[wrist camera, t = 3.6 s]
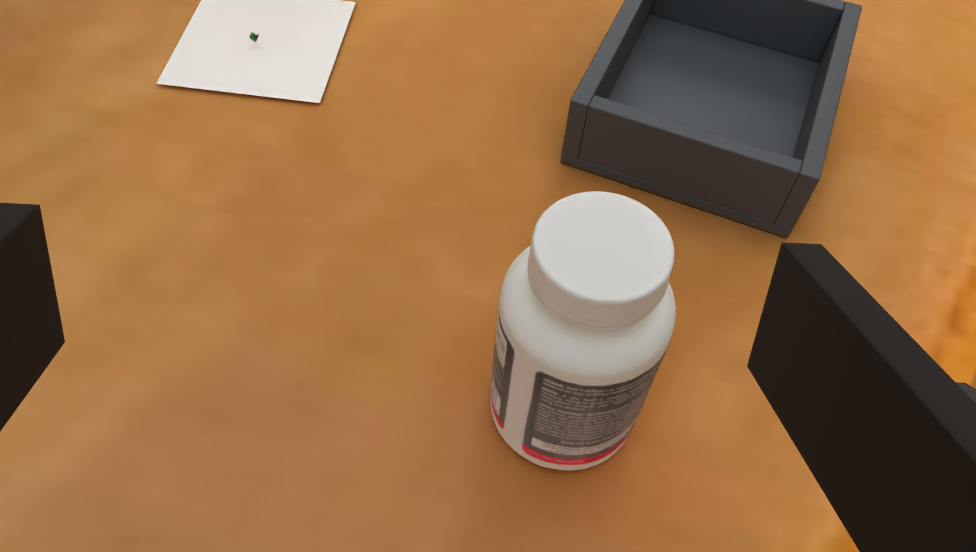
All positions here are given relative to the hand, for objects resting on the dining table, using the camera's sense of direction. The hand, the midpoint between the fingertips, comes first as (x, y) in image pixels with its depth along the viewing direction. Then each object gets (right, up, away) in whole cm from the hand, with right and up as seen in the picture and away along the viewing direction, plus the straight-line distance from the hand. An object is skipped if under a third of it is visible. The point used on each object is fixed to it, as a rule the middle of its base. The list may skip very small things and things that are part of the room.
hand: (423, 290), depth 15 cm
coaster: (-10, +12, +27) cm, 31 cm away
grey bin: (+12, +8, +25) cm, 29 cm away
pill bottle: (+4, -5, +16) cm, 17 cm away
